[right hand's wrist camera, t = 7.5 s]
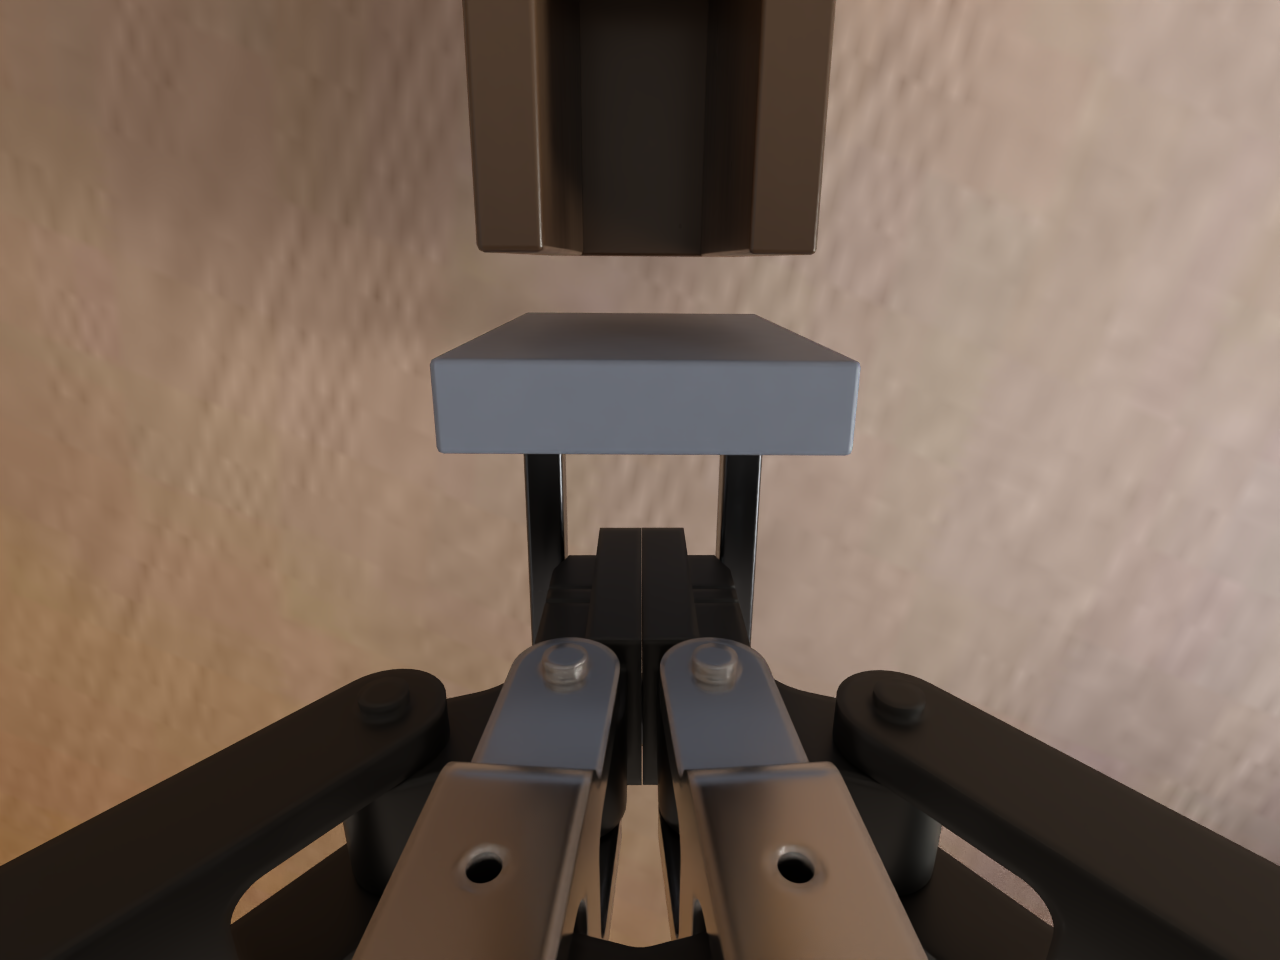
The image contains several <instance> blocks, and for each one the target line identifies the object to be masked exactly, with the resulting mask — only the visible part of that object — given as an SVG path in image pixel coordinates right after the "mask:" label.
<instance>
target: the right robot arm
mask: <svg viewBox="0 0 1280 960" xmlns="http://www.w3.org/2000/svg"><path fill="white" fill-rule="evenodd" d="M642 717H643V785H658V839H659V847H660V855H661V863H662V871H663V879H664V887H665V895H666V903H667V910H668V918H669V926H670V934H671V941H669V942H665V943H662V944H658V945H654V946H649V947H631V946H626V945H622V944H618V943H615V942H611V941H609V934H610V926H611V918H612V910H613V902H614V894H615V886H616V878H617V870H618V862H619V854H620V846H621V838H622V817H623V815H624V812H625V810H626V802H627V785H641V756H642ZM342 822H343V825H344V831H345V836H346V841H347V843H346V844H345V845H344V846H342V847H341V848H339V849H338V850H337V851H335V852H334V853H332V854H331V855H329V856H328V857H327V858H325V859H324V860H322V861H321V862H319V863H318V864H317V865H315V866H314V867H312V868H311V869H309V870H308V871H307V872H305V873H304V874H302V875H301V876H300V877H298V878H297V879H295V880H294V881H292V882H291V883H290V884H288V885H287V886H285V887H284V888H282V889H281V890H280V891H278V892H277V893H275V894H274V895H273V896H271V897H270V898H268V899H267V900H265V901H264V902H263V903H261V904H260V905H258V906H257V907H255V908H254V909H253V910H251V911H250V912H248V913H247V914H246V915H244V916H243V917H241V918H240V919H238V920H237V921H236V922H234V923H233V924H231V918H232V914H233V911H234V909H235V907H236V905H237V903H238V901H239V900H240V898H241V897H242V896H243V894H244V893H245V892H246V891H247V889H248V888H249V887H250V886H251V885H252V884H253V883H254V882H256V881H257V880H258V879H259V878H261V877H262V876H263V875H265V874H266V873H268V872H269V871H271V870H272V869H274V868H275V867H276V866H278V865H279V864H281V863H282V862H284V861H285V860H287V859H288V858H290V857H291V856H293V855H294V854H296V853H297V852H299V851H300V850H302V849H303V848H305V847H306V846H308V845H309V844H311V843H312V842H313V841H315V840H316V839H318V838H319V837H321V836H322V835H324V834H325V833H327V832H328V831H330V830H331V829H333V828H334V827H336V826H337V825H339V824H340V823H342ZM942 825H943V826H944V827H946V828H947V829H949V830H950V831H952V832H953V833H955V834H956V835H957V836H959V837H960V838H962V839H963V840H965V841H966V842H968V843H969V844H971V845H972V846H974V847H975V848H977V849H978V850H980V851H981V852H983V853H984V854H986V855H987V856H989V857H990V858H992V859H993V860H994V861H996V862H997V863H999V864H1000V865H1002V866H1003V867H1005V868H1006V869H1008V870H1009V871H1011V872H1012V873H1014V874H1015V875H1017V876H1018V877H1020V878H1021V879H1022V880H1024V881H1025V882H1026V883H1028V884H1029V885H1030V886H1031V887H1032V888H1033V889H1034V890H1035V891H1036V892H1037V893H1038V894H1039V896H1040V897H1041V898H1042V900H1043V901H1044V902H1045V904H1046V906H1047V908H1048V909H1049V912H1050V914H1051V916H1052V920H1053V925H1054V928H1053V927H1052V926H1050V925H1049V924H1047V923H1046V922H1044V921H1043V920H1041V919H1040V918H1039V917H1037V916H1036V915H1034V914H1033V913H1031V912H1030V911H1029V910H1027V909H1026V908H1024V907H1023V906H1022V905H1020V904H1019V903H1017V902H1016V901H1014V900H1013V899H1012V898H1010V897H1009V896H1007V895H1006V894H1004V893H1003V892H1002V891H1000V890H999V889H997V888H996V887H995V886H993V885H992V884H990V883H989V882H987V881H986V880H985V879H983V878H982V877H980V876H979V875H977V874H976V873H975V872H973V871H972V870H970V869H969V868H968V867H966V866H965V865H963V864H962V863H960V862H959V861H958V860H956V859H955V858H953V857H952V856H950V855H949V854H948V853H946V852H945V851H943V850H942V849H940V848H939V847H938V843H939V838H940V832H941V827H942ZM230 924H231V925H230ZM0 960H1280V866H1278V865H1276V864H1274V863H1272V862H1271V861H1269V860H1267V859H1265V858H1263V857H1261V856H1259V855H1257V854H1255V853H1253V852H1251V851H1250V850H1248V849H1246V848H1244V847H1242V846H1240V845H1238V844H1236V843H1234V842H1232V841H1230V840H1229V839H1227V838H1225V837H1223V836H1221V835H1219V834H1217V833H1215V832H1213V831H1211V830H1209V829H1208V828H1206V827H1204V826H1202V825H1200V824H1198V823H1196V822H1194V821H1192V820H1190V819H1188V818H1187V817H1185V816H1183V815H1181V814H1179V813H1177V812H1175V811H1173V810H1171V809H1169V808H1167V807H1166V806H1164V805H1162V804H1160V803H1158V802H1156V801H1154V800H1152V799H1150V798H1148V797H1146V796H1145V795H1143V794H1141V793H1139V792H1137V791H1135V790H1133V789H1131V788H1129V787H1127V786H1125V785H1124V784H1122V783H1120V782H1118V781H1116V780H1114V779H1112V778H1110V777H1108V776H1106V775H1104V774H1103V773H1101V772H1099V771H1097V770H1095V769H1093V768H1091V767H1089V766H1087V765H1085V764H1083V763H1081V762H1080V761H1078V760H1076V759H1074V758H1072V757H1070V756H1068V755H1066V754H1064V753H1062V752H1060V751H1059V750H1057V749H1055V748H1053V747H1051V746H1049V745H1047V744H1045V743H1043V742H1041V741H1039V740H1038V739H1036V738H1034V737H1032V736H1030V735H1028V734H1026V733H1024V732H1022V731H1020V730H1018V729H1017V728H1015V727H1013V726H1011V725H1009V724H1007V723H1005V722H1003V721H1001V720H999V719H997V718H996V717H994V716H992V715H990V714H988V713H986V712H984V711H982V710H980V709H978V708H976V707H975V706H973V705H971V704H969V703H967V702H965V701H963V700H961V699H959V698H957V697H955V696H954V695H952V694H950V693H948V692H946V691H944V690H942V689H940V688H938V687H936V686H934V685H933V684H931V683H929V682H926V681H924V680H922V679H920V678H917V677H914V676H911V675H908V674H904V673H900V672H894V671H884V670H874V671H865V672H860V673H857V674H854V675H852V676H850V677H848V678H847V679H845V680H844V681H843V682H842V683H841V684H840V686H839V688H838V690H837V696H836V698H833V697H828V696H824V695H819V694H814V693H809V692H805V691H801V690H797V689H795V688H792V687H789V686H787V685H784V684H782V683H780V682H778V681H777V680H775V679H774V678H773V676H772V673H771V671H770V669H769V666H768V664H767V662H766V661H765V659H764V658H763V657H762V656H761V655H760V654H759V653H758V652H757V651H755V650H754V649H752V648H751V646H750V642H749V639H748V635H747V631H746V627H745V623H744V620H743V616H742V612H741V608H740V604H739V603H738V597H737V593H736V589H735V585H734V582H733V578H732V574H731V570H730V569H729V568H728V567H727V566H726V565H725V564H724V563H723V562H721V561H720V560H719V559H718V558H717V557H716V556H715V555H687V548H686V541H685V535H684V528H642V584H641V528H600V531H599V539H598V546H597V554H596V555H569V556H568V557H567V558H566V559H565V560H563V561H562V562H561V563H560V564H559V565H558V566H557V567H556V568H555V569H553V573H552V577H551V581H550V585H549V589H548V593H547V597H546V603H545V605H544V609H543V613H542V617H541V620H540V624H539V628H538V632H537V636H536V640H535V644H534V645H533V646H531V647H529V648H528V649H526V650H525V651H523V652H522V653H521V654H520V655H519V656H518V657H517V658H516V659H515V660H514V662H513V664H512V666H511V668H510V671H509V673H508V675H507V678H506V680H505V683H503V684H501V685H499V686H497V687H494V688H491V689H488V690H485V691H481V692H477V693H472V694H468V695H463V696H458V697H453V698H449V699H446V690H445V688H444V685H443V684H442V682H441V681H440V680H439V679H438V678H436V677H435V676H433V675H431V674H429V673H427V672H424V671H420V670H414V669H392V670H386V671H381V672H377V673H373V674H370V675H367V676H364V677H362V678H360V679H357V680H355V681H353V682H351V683H349V684H347V685H345V686H343V687H342V688H340V689H338V690H336V691H334V692H332V693H330V694H328V695H326V696H324V697H322V698H321V699H319V700H317V701H315V702H313V703H311V704H309V705H307V706H305V707H303V708H301V709H300V710H298V711H296V712H294V713H292V714H290V715H288V716H286V717H284V718H282V719H280V720H279V721H277V722H275V723H273V724H271V725H269V726H267V727H265V728H263V729H261V730H259V731H258V732H256V733H254V734H252V735H250V736H248V737H246V738H244V739H242V740H240V741H238V742H237V743H235V744H233V745H231V746H229V747H227V748H225V749H223V750H221V751H219V752H217V753H216V754H214V755H212V756H210V757H208V758H206V759H204V760H202V761H200V762H198V763H196V764H195V765H193V766H191V767H189V768H187V769H185V770H183V771H181V772H179V773H177V774H175V775H174V776H172V777H170V778H168V779H166V780H164V781H162V782H160V783H158V784H156V785H154V786H153V787H151V788H149V789H147V790H145V791H143V792H141V793H139V794H137V795H135V796H133V797H132V798H130V799H128V800H126V801H124V802H122V803H120V804H118V805H116V806H114V807H112V808H111V809H109V810H107V811H105V812H103V813H101V814H99V815H97V816H95V817H93V818H91V819H90V820H88V821H86V822H84V823H82V824H80V825H78V826H76V827H74V828H72V829H70V830H69V831H67V832H65V833H63V834H61V835H59V836H57V837H55V838H53V839H51V840H49V841H48V842H46V843H44V844H42V845H40V846H38V847H36V848H34V849H32V850H30V851H28V852H27V853H25V854H23V855H21V856H19V857H17V858H15V859H13V860H11V861H9V862H7V863H6V864H4V865H2V866H0Z"/></svg>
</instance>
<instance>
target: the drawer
mask: <svg viewBox="0 0 1280 960" xmlns="http://www.w3.org/2000/svg"><path fill="white" fill-rule="evenodd" d="M462 4H463V21H464V38H465V55H466V71H467V88H468V105H469V122H470V139H471V156H472V172H473V189H474V206H475V223H476V240H477V246H478V248H479V250H481V251H483V252H490V253H511V254H531V255H551V256H685V257H744V256H779V255H811V254H814V253H815V251H816V248H817V235H818V222H819V209H820V196H821V183H822V171H823V158H824V145H825V132H826V119H827V107H828V94H829V81H830V68H831V55H832V42H833V30H834V17H835V4H836V0H462ZM860 368H861V367H860V364H859V362H857V361H855V360H853V359H851V358H848V357H846V356H844V355H842V354H840V353H838V352H835V351H833V350H831V349H829V348H827V347H824V346H822V345H820V344H818V343H816V342H814V341H811V340H809V339H807V338H805V337H803V336H801V335H798V334H796V333H794V332H792V331H790V330H788V329H785V328H783V327H781V326H779V325H777V324H775V323H772V322H770V321H768V320H766V319H764V318H762V317H759V316H757V315H755V314H650V313H526V314H524V315H522V316H520V317H518V318H516V319H514V320H512V321H510V322H508V323H506V324H504V325H501V326H499V327H497V328H495V329H493V330H491V331H489V332H487V333H485V334H483V335H481V336H479V337H477V338H475V339H473V340H471V341H469V342H467V343H465V344H463V345H461V346H459V347H457V348H455V349H453V350H451V351H448V352H446V353H444V354H442V355H440V356H438V357H436V358H434V359H432V360H431V363H430V371H431V383H432V396H433V408H434V420H435V432H436V444H437V448H438V451H439V452H441V453H463V454H524V473H525V495H526V518H527V541H528V563H529V586H530V608H531V631H532V646H533V645H534V644H535V640H536V636H537V632H538V628H539V624H540V620H541V617H542V613H543V609H544V605H545V603H546V597H547V593H548V589H549V585H550V581H551V577H552V573H553V569H555V568H556V567H557V566H558V565H559V564H560V563H561V562H562V561H563V560H565V559H566V558H567V557H568V535H567V496H566V458H565V454H656V455H720V466H719V489H718V513H717V536H716V557H717V558H718V559H719V560H720V561H721V562H723V563H724V564H725V565H726V566H727V567H728V568H729V569H730V570H731V574H732V578H733V582H734V585H735V589H736V593H737V597H738V603H739V604H740V608H741V612H742V616H743V620H744V623H745V627H746V631H747V635H748V639H749V642H750V646H751V630H752V614H753V597H754V581H755V565H756V548H757V532H758V516H759V499H760V483H761V467H762V455H848V454H850V453H851V451H852V448H853V438H854V428H855V418H856V408H857V398H858V388H859V378H860ZM642 746H643V717H642Z"/></svg>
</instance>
